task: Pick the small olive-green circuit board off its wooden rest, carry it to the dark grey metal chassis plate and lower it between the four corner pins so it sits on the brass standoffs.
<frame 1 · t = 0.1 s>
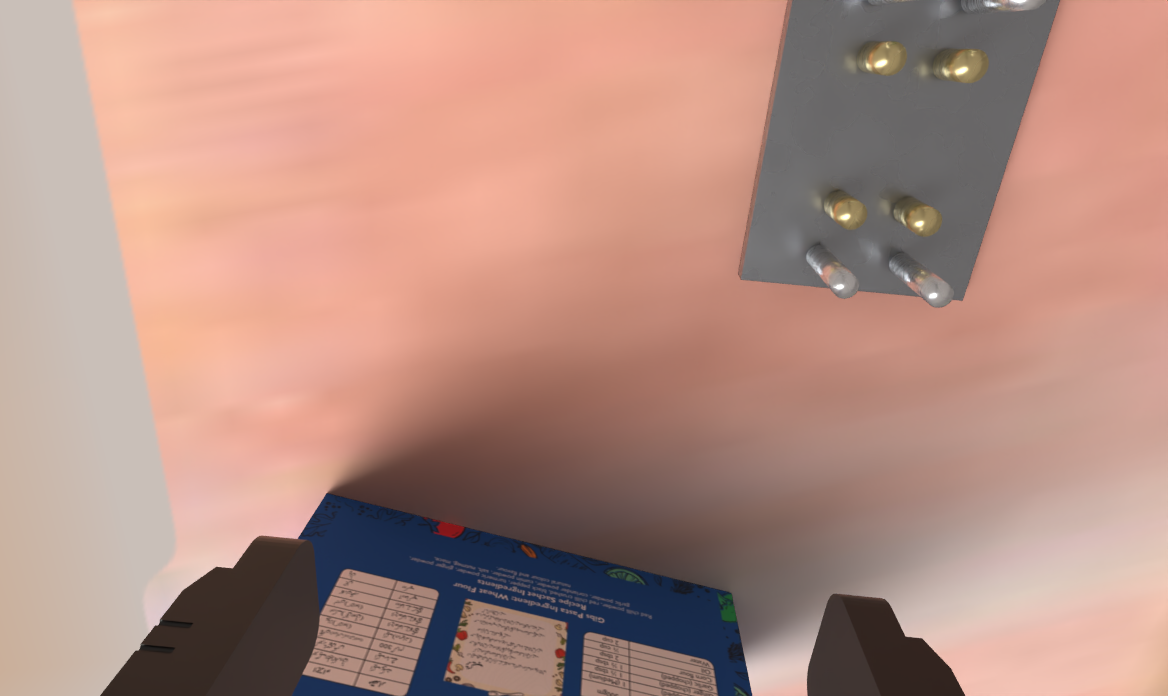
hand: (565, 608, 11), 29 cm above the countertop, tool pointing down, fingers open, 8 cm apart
chassis: (883, 134, 36), on the countertop
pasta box: (520, 585, 49), on the countertop
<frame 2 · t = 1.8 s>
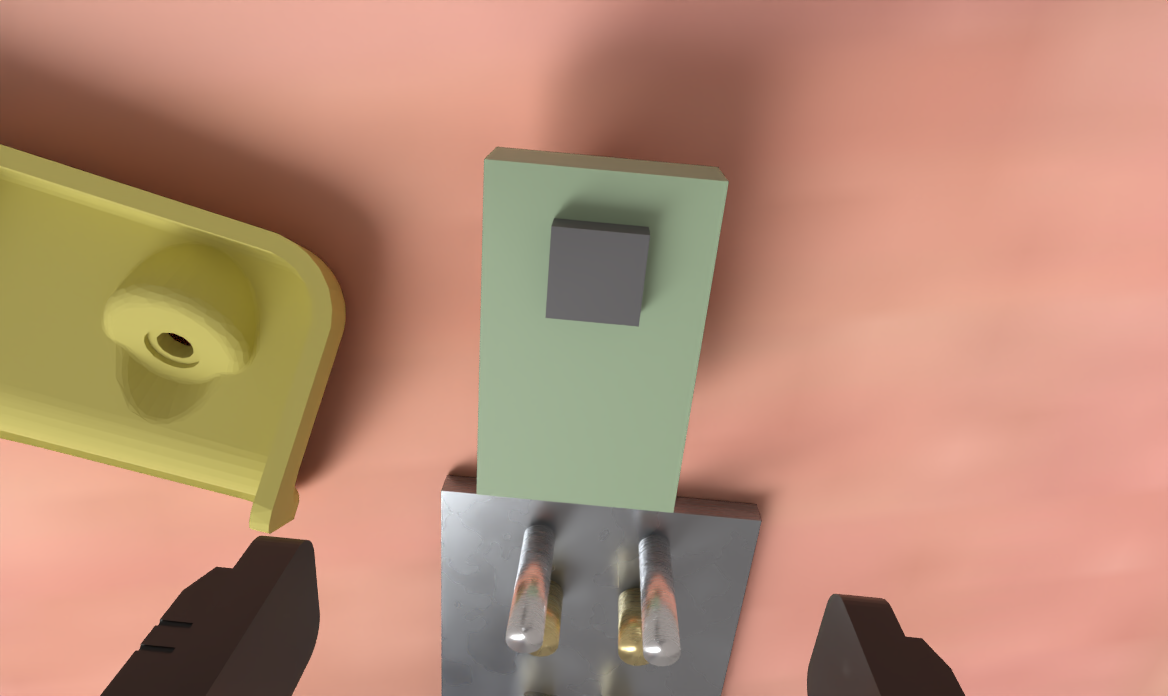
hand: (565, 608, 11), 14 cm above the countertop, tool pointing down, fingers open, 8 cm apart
chassis: (584, 641, 30), on the countertop
board: (591, 326, 21), point 3 cm above the countertop, touching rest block
plastic component: (84, 285, 25), on the countertop
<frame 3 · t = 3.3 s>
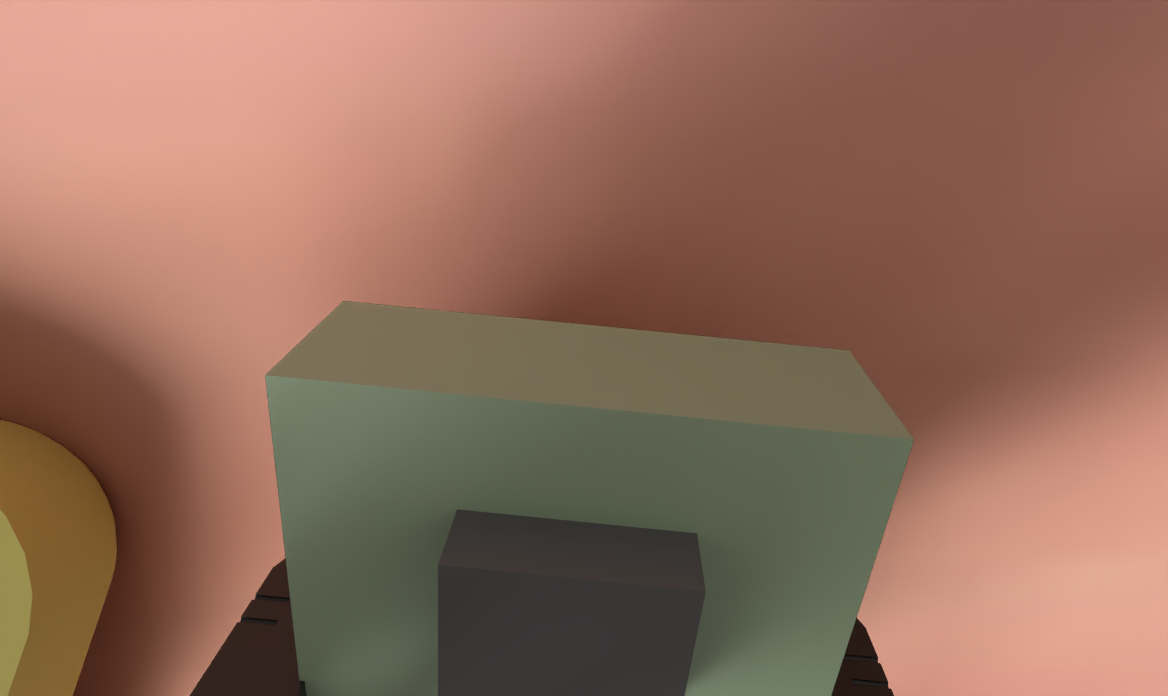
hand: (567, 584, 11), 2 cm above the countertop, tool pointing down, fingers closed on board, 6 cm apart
board: (564, 638, 10), point 3 cm above the countertop, touching gripper, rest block
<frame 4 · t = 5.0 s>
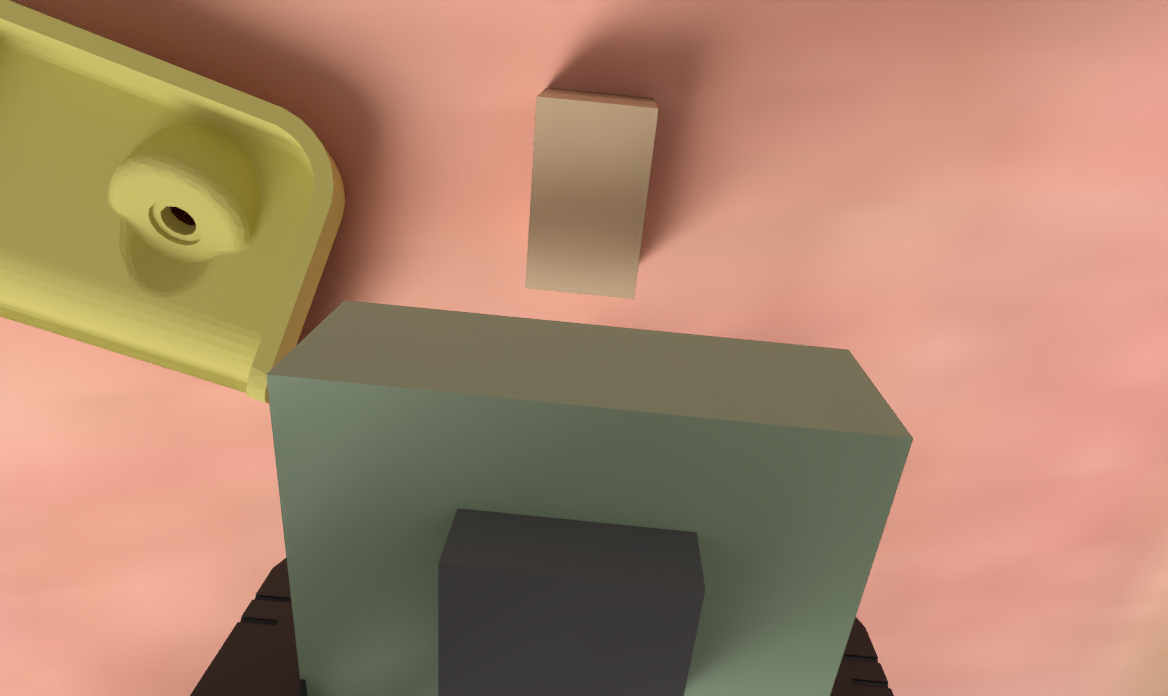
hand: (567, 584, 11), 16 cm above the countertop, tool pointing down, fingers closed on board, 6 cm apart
board: (564, 637, 10), point 17 cm above the countertop, touching gripper
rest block: (591, 183, 25), on the countertop
plastic component: (89, 167, 26), on the countertop
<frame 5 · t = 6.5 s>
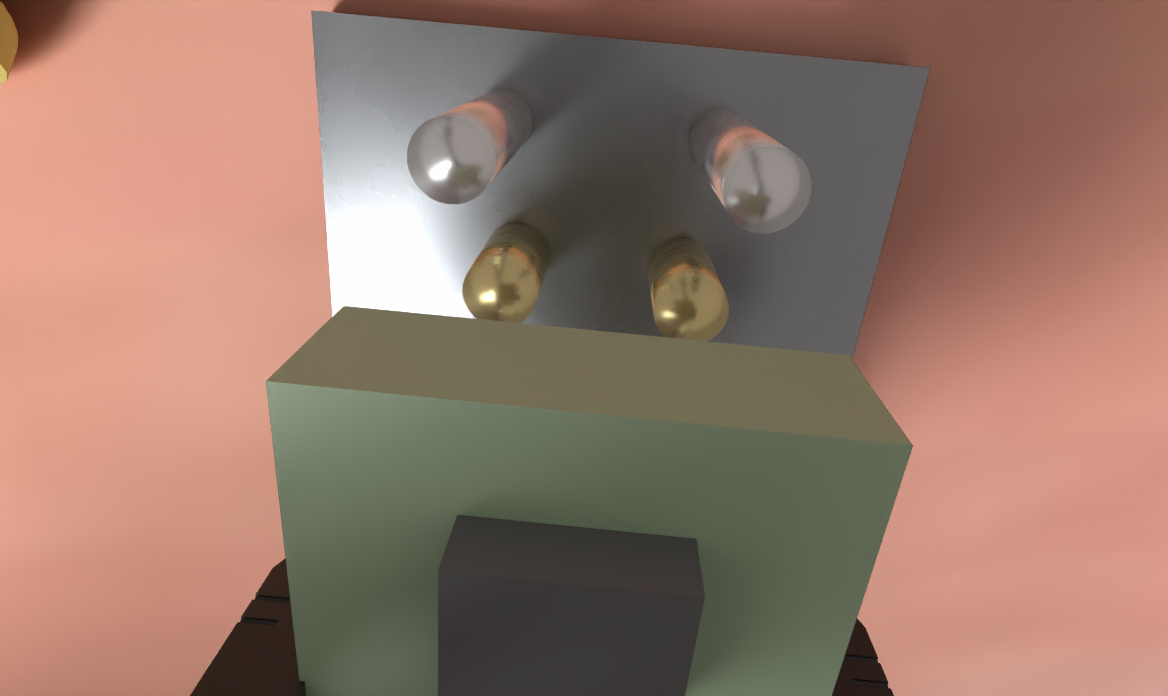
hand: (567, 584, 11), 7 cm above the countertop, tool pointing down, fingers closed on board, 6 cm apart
chassis: (586, 383, 18), on the countertop
board: (564, 642, 10), point 8 cm above the countertop, touching gripper
when the fingers open (3 cm above the countertop, at t = 7.8 s): board stays where it is, resting on chassis.
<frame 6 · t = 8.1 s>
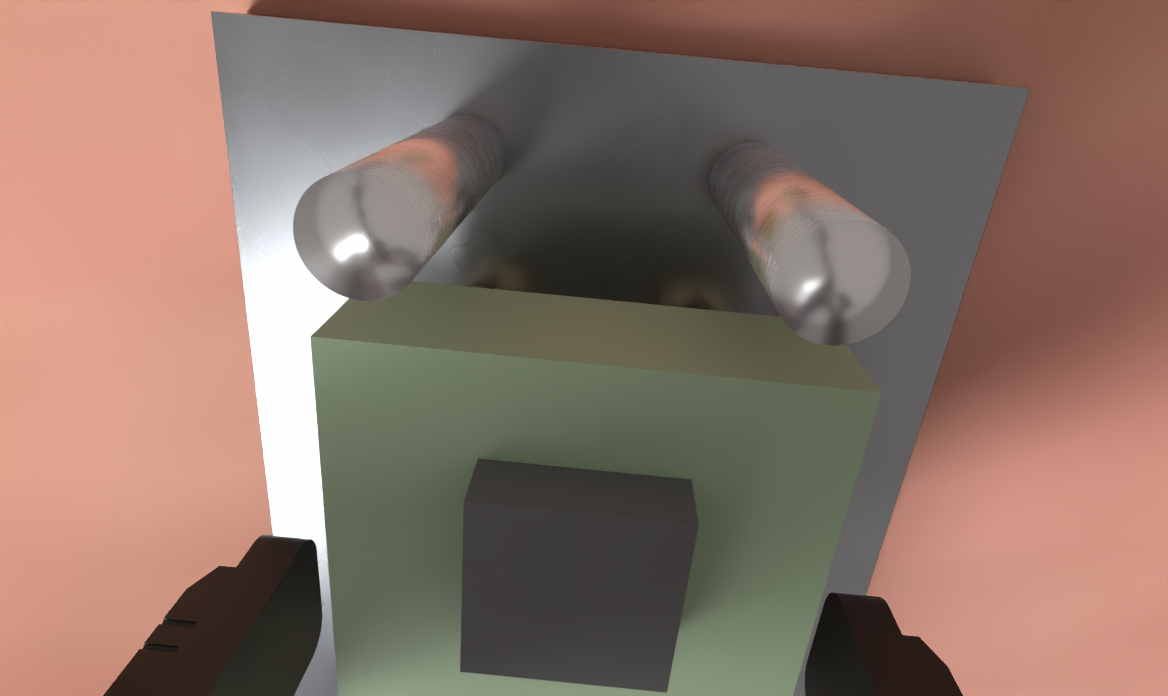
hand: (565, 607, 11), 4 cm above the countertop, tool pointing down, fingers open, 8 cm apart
chassis: (577, 470, 14), on the countertop
board: (569, 593, 11), point 3 cm above the countertop, touching chassis
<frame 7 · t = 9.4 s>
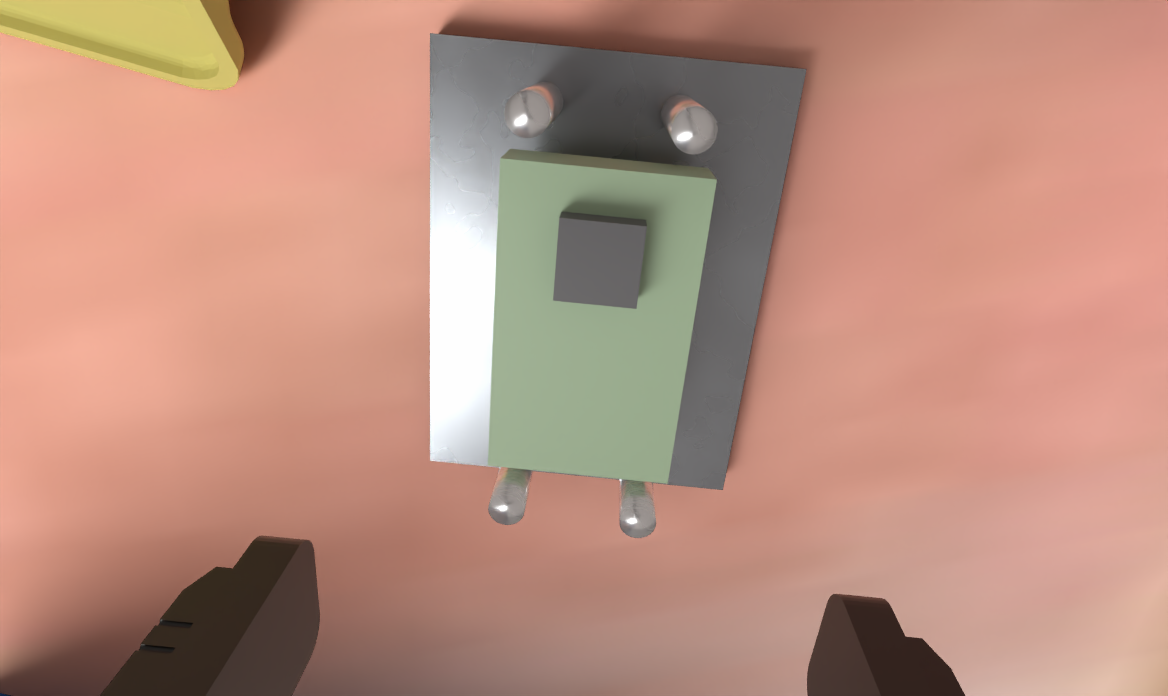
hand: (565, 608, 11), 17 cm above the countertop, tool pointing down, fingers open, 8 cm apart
chassis: (595, 281, 26), on the countertop
board: (593, 313, 23), point 3 cm above the countertop, touching chassis
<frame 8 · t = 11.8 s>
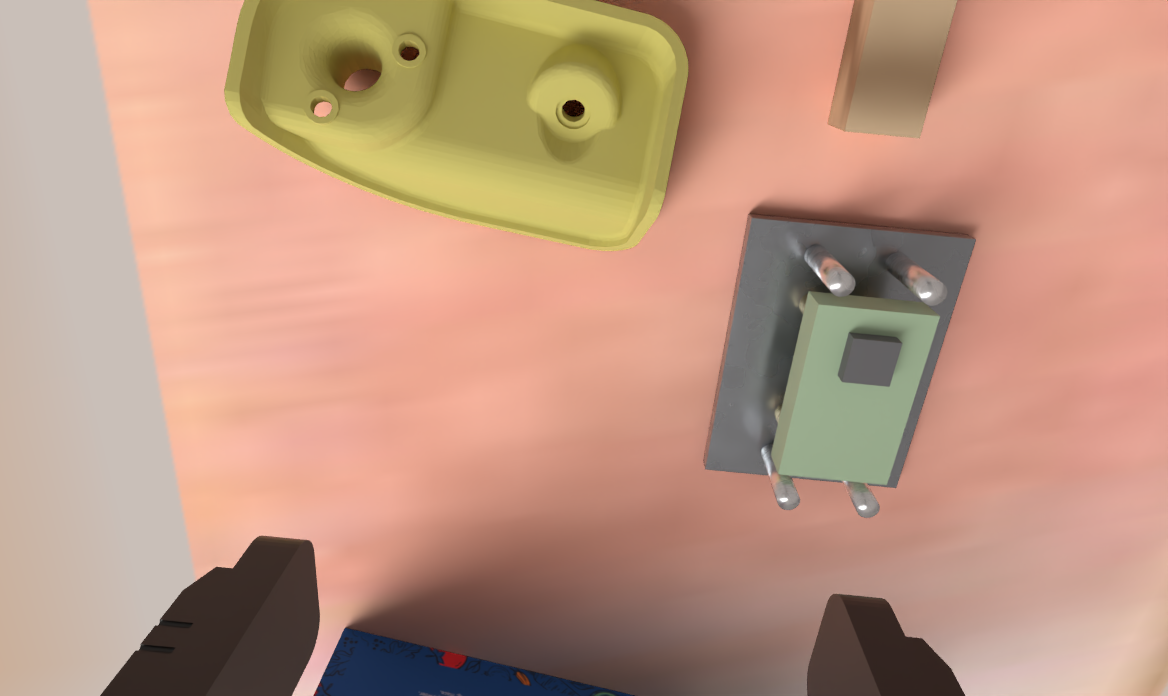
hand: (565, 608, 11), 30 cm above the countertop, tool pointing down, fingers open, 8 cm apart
chassis: (825, 356, 42), on the countertop
board: (843, 382, 38), point 3 cm above the countertop, touching chassis
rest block: (877, 65, 35), on the countertop
plastic component: (486, 96, 37), on the countertop
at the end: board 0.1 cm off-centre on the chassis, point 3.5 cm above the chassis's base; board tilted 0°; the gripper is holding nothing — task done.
